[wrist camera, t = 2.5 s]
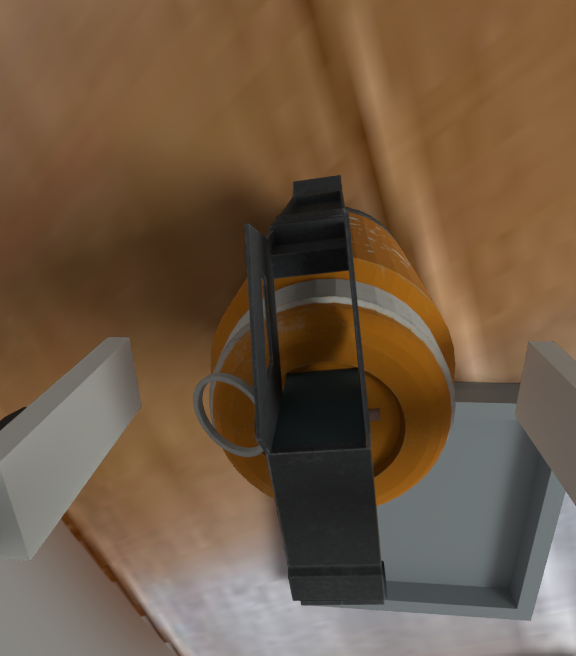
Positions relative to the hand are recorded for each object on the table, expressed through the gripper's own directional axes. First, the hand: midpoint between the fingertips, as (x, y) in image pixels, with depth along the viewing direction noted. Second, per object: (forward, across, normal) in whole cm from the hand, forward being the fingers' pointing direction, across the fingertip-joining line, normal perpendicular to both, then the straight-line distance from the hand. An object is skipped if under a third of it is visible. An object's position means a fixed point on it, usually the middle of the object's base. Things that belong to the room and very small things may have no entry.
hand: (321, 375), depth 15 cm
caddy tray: (+14, +7, -18) cm, 24 cm away
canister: (+14, 0, 0) cm, 14 cm away
